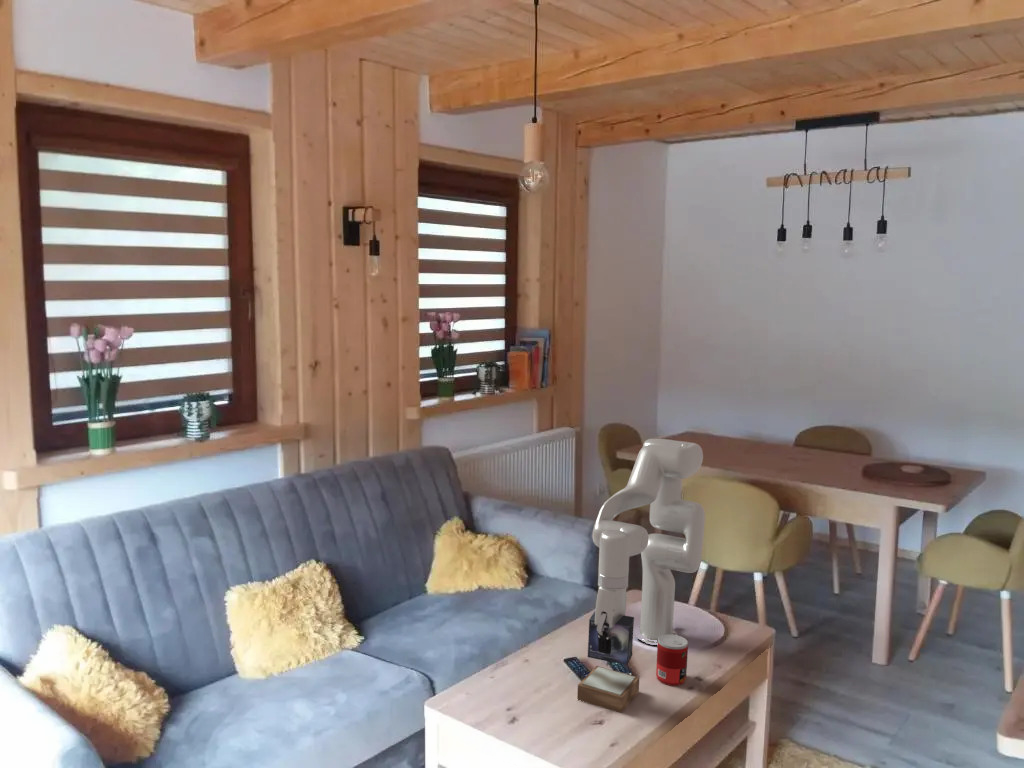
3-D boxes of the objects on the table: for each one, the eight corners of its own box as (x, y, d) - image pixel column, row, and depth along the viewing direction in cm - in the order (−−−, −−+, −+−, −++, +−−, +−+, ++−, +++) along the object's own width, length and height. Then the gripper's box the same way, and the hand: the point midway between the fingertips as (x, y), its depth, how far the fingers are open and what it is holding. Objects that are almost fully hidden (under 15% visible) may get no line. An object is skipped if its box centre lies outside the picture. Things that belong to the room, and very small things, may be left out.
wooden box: (596, 679, 225) (596, 664, 224) (638, 691, 219) (639, 676, 218) (577, 699, 214) (577, 684, 214) (621, 712, 209) (622, 696, 208)
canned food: (686, 687, 222) (688, 648, 220) (655, 684, 223) (657, 645, 222) (686, 674, 229) (688, 635, 228) (656, 670, 231) (658, 632, 229)
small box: (586, 658, 214) (587, 619, 212) (592, 647, 220) (594, 609, 218) (627, 666, 210) (629, 626, 209) (633, 655, 216) (634, 616, 215)
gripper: (612, 566, 221) (609, 630, 224) (585, 587, 206) (582, 656, 209) (639, 572, 218) (636, 637, 220) (613, 594, 203) (610, 664, 205)
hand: (610, 646), depth 215 cm, fingers closed on small box, 6 cm apart
